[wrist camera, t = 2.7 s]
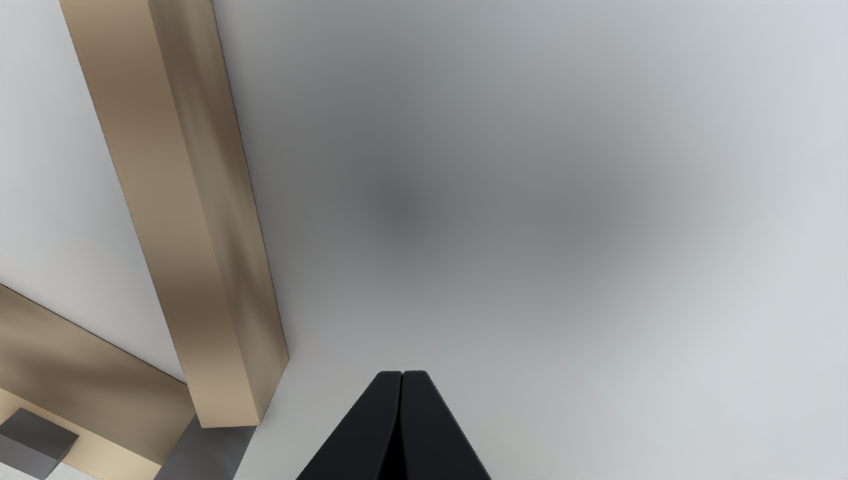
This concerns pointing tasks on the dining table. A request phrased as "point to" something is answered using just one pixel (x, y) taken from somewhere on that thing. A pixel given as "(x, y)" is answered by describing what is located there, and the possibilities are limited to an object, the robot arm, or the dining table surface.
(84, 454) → the tongs fixed arm
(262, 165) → the dining table surface
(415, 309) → the dining table surface
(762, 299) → the dining table surface
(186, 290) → the tongs jaw
